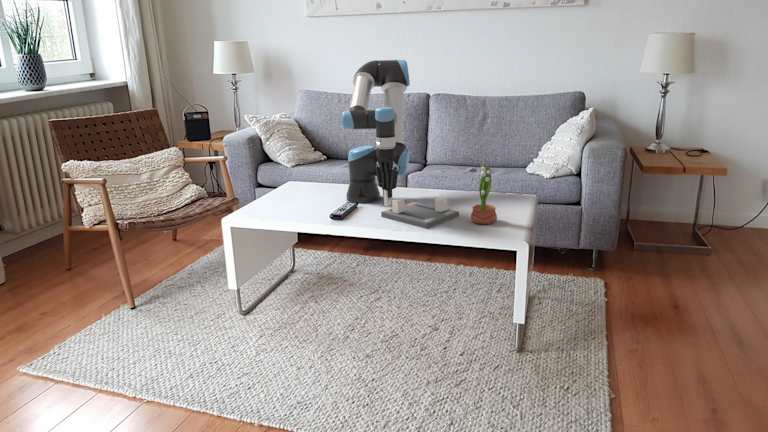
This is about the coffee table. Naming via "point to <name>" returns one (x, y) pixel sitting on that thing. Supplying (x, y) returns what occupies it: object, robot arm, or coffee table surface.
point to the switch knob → (441, 204)
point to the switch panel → (421, 215)
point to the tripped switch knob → (398, 205)
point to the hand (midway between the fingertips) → (387, 204)
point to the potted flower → (484, 199)
